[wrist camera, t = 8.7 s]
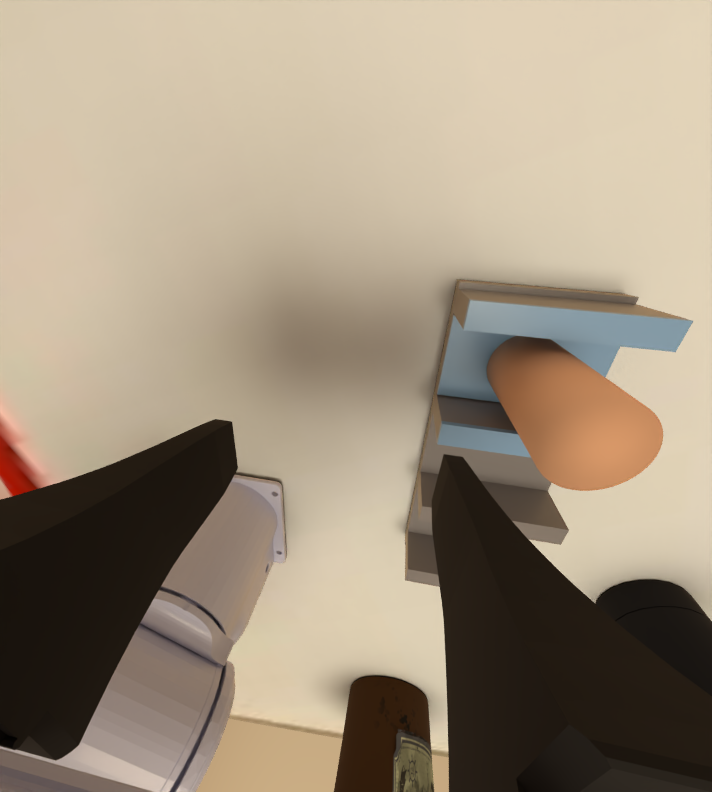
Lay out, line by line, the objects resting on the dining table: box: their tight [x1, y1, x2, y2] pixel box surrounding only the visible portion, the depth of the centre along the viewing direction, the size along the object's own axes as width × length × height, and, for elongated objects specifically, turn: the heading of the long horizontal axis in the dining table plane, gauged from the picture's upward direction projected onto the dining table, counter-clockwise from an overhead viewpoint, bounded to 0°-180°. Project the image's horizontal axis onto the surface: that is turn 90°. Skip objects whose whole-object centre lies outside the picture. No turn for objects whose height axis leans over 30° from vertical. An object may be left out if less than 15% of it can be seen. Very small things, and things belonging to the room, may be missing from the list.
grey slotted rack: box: [405, 280, 693, 587], centre depth 18 cm, size 19×8×4 cm, turn 176°
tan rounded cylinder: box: [487, 336, 663, 491], centre depth 13 cm, size 4×4×7 cm
